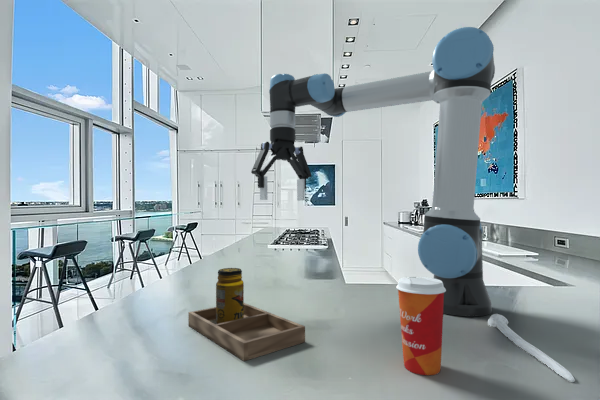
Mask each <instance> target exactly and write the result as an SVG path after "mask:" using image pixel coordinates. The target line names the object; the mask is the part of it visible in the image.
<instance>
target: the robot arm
mask: <svg viewBox="0 0 600 400" xmlns="http://www.w3.org/2000/svg"><path fill="white" fill-rule="evenodd" d="M494 50H495V49H494V44H493V42H492V40H491V37H490V36H489V34H488V33H486V32H485V30H482V29H480V28H478V27H475V26H463V27H459V28H455V29H453V30H452V31H450V32H448V33H447V34H445V35H444V36H443V37H442V38H441V39H440V40H439V41H438V42H437V44H436V45H435V48H434V50H433V53H432V56H431V57H432V61H431V63H432V70H430V71H427V72H426V71H425V72H420V73H419V72H418V73H413V74H409V75H404V76H399V77H393V78H387V79H382V80H381V79H380V80H375V81H370V82H364V83H359V84H355V85H354V84H353V85H348V86H342V87H337V88H335V83H334V80H333V79H332V76H331V75H330V74H328V73H319V74H318V73H317V74H313V75H309V76H305V77H301V78H297V79H295V77H294V75H291V74H289V73H276V74H274V75H273V76H272V77H271V78H270V80H269V89H268V90H269V91H268V93H269V106H270V107H269V109H270V110H269V127H270V128H271V129H270V130H269V141H270V142H269V141H264V142H262V143H261V144H260V150H259V153H258V155H257V158H256V160H255V162H254V164H253V167H252V168H251V171H250V172H251V174H252V175H254V176H255V177H256V178H257V188H258V189H259V200H260V201H266V200H268V176H267V175H266V174H267V173H268V171H269V170H270V169H271V168H272V166H273V164H275V162H276V161H277V160H278V161H286V162H288V164H290V166H291V168H292V169H293V171H294V172H295V174H296V176H297V178H298V179H296V196H297V197H296V201H298V202H299V201H305V199H306V197H305V196H306V195H305V194H306V193H305V190H307V179H309V178H311V177H312V173H311V170H310V168H309V163H308V162H307V159H306V157H305V155H304V154H305V153H304V146H298V147H297V146H295V143H296V129H295V127H296V108H298V107H305V106H312V107H314V108H316V109H318V110H319V111H321V112H323V113H325V114H326V115H328V116H330V117H335V118H339V117H342V116H343V115H345V114H346V113H349V112H350V113H351V112H357V111H363V110H364V111H365V110H371V109H381V108H386V107H392V106H400V105H407V104H415V103H421V102H422V103H423V102H430V101H434V102H435V103H436V104H439V112H438V113H439V116H438V128H437V140H436V155H435V165H434V166H435V167H434V179H433V180H434V181H433V192H432V194H433V195H432V204H431V205H432V206H431V208H430V209H429V210H427V212H425V213H424V221H423V231H422V234H421V235H420V238H419V241H418V244H417V253H418V258H419V260H420V262H421V264H422V266H423V267H424V268H425V269H426V270H427V271H428V272H429V273H431V274H432V275H433V278H434V279H438V280H441V281H442V282H443V286H444V288H445V289H446V291H445V292H444V302H443V314H446V315H449V316H450V315H452V316H460V317H483V316H487V315H490V314H492V313H493V311H492V309H493V308H492V306H493V305H492V300H491V297H490V295H489V292H488V290H487V287H486V285H485V282H484V273H483V272H484V271H483V269H484V265H483V261H484V260H483V233H484V231H483V227H482V226H483V225H482V223H481V217H479V215H478V214H477V213H476V212H475V210H474V209H475V208H474V205H475V193H476V181H477V172H478V171H477V169H478V157H479V141H480V129H481V121H482V120H481V119H482V118H481V117H482V105H483V102H484V101H485V100H486V99H488V98H489V97H490V96H491V89H492V82H493V80H494V78H495V74H496V73H495V71H496V67H495V59H494V58H495V57H494ZM269 151H270V152H271V153H270V155H269V156H268V153H269ZM267 156H268V158H267V160H266V157H267ZM265 160H266V161H265Z"/></svg>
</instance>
